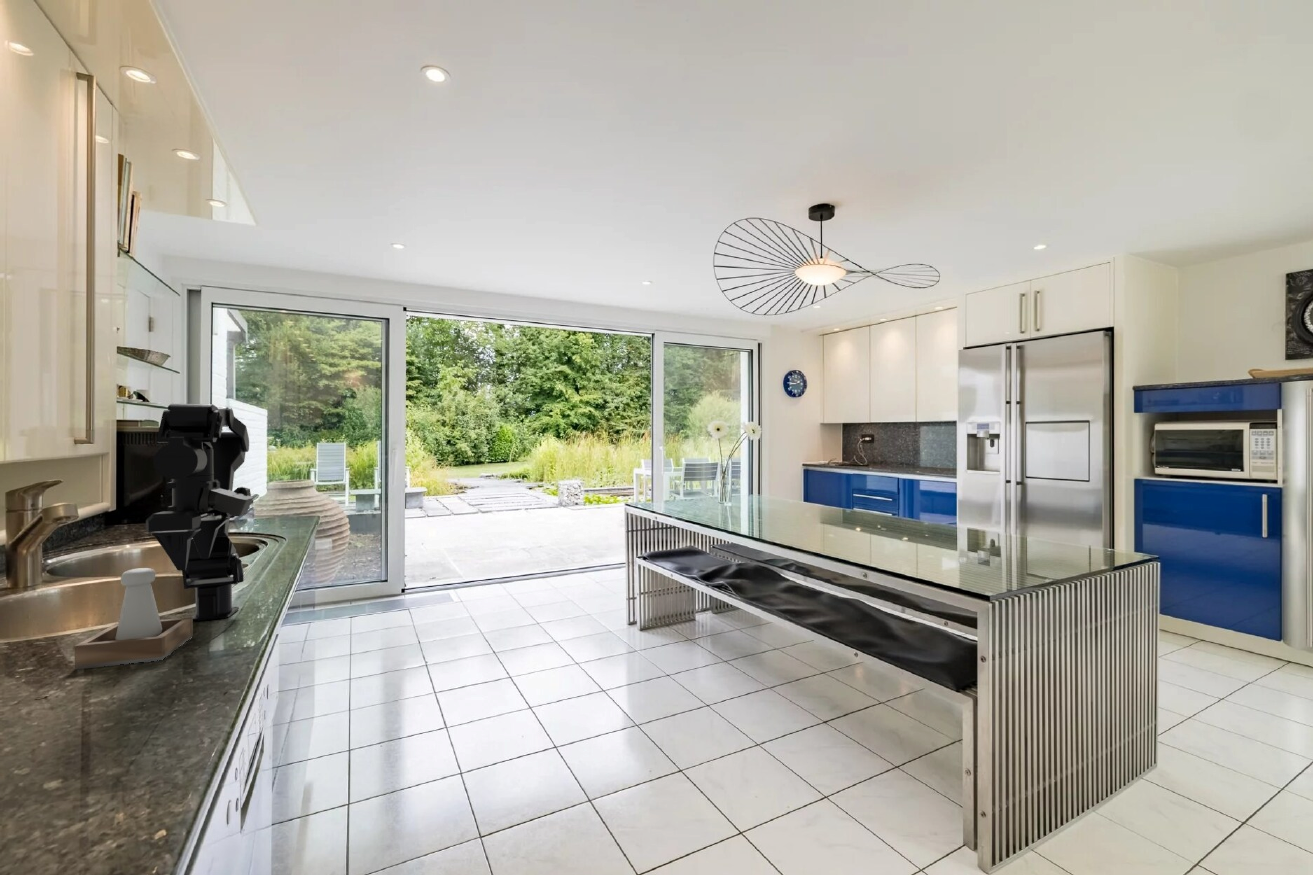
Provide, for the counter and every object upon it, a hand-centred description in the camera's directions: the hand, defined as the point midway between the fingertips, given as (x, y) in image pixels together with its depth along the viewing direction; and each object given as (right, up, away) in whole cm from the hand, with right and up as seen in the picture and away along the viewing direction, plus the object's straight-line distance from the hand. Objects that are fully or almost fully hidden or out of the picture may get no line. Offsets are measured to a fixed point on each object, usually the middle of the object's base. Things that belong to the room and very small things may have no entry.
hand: (194, 564), depth 103 cm
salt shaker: (-4, -13, -6) cm, 15 cm away
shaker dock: (-4, -13, -6) cm, 15 cm away
